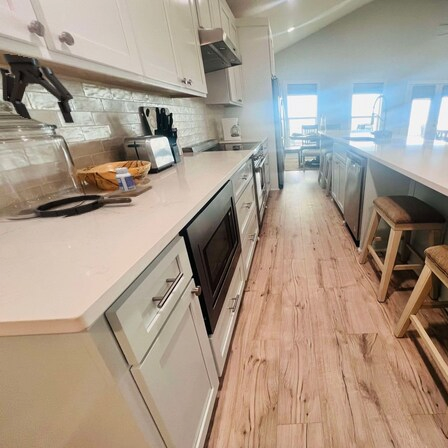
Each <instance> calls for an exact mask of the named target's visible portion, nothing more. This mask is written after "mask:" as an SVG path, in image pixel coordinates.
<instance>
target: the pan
mask: <svg viewBox="0 0 448 448" xmlns="http://www.w3.org/2000/svg"><path fill="white" fill-rule="evenodd" d="M86 201H92V202H88V203H85V204H81V205H78V206H77V205H76V206H73V207H67V208H61V209H56V210H55V209H54V210H53V209H52V208H56V207H60V206H63V205H64V206H65V205H68V204H73V203H78V202H86ZM132 201H133V200H132V197H114V198H105V197H104V195H101V194H82V195H76V196H69V197H64V198H61V199H55V200H52V201H48V202H45V203H42V204H40V205H37V206H36V207H35V208H34V209H33V212H34V214H35V216H36V217H39V218H58V217H61V218H62V219H64V218H70V217H74V216H75V217H76V216H79V215H80V216H81V215H83V214H86V213H89V212H93V211H96V210H98V209H100V208H102V207H104V206H105V205H116V204H131V203H132ZM50 209H52V210H50Z"/></svg>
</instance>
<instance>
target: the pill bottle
mask: <svg viewBox="0 0 448 448" xmlns="http://www.w3.org/2000/svg"><path fill="white" fill-rule="evenodd" d="M114 171H115V173H116V175H115V179H116V182H117V184H118V187H119V189H120V190H121V192H129V191H133V190H135V189H136V187H137V186H136V183H135V181H134V178H133V175H132V173H130V172H129V170H128V167H126V166H125V167H116V168H114Z"/></svg>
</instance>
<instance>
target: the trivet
mask: <svg viewBox="0 0 448 448" xmlns="http://www.w3.org/2000/svg"><path fill="white" fill-rule="evenodd" d="M135 187H136V189H135V190H133V191H129V192H121V190H120V188H118V189H116V190H114V191H111V192H109V193H106V194H104V195H103V197H104V198H105V197H106V199H112V198H132V197H137V196H139V195H141V194H143V193H145V192H147V191H149V190H151V189H152V188H153V187H152V185H145V186H144V185H143V186H141V185H140V186H135Z"/></svg>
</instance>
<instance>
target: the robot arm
mask: <svg viewBox="0 0 448 448" xmlns="http://www.w3.org/2000/svg"><path fill="white" fill-rule="evenodd" d="M2 57H3V59H4V61H5V62H6V63H7V64H8V65H9V68H10V69H9V68H4V67H0V74H1V81H2V84H1V87H2V88H1V89H2V90H1V91H2V100H3V102H7V103H10V104H12V106H13V109H14V110H15V112H16V114H17V115H19V117H20V116H22V117H24V118H28V119H32V117H31V115H30V112H29V110H28V108H27V106H26V104H25V103H24V102H22V101H23V98H24V95H25V93H26V89H27V87H28V86H29V85H31V86H32V85H40V86H41V87H42V88H43V89H45V91H47V92H48V93H50V94H51V95H52V96H53V97H55V98H56V99H57V101H56V103H57V107H58V108H59V110H60V113H61V115H62V118H63V121H64V123H65V124H74V123H75V121H74V119H73V116H72V108H71V106H70V103H69V101H71V100H73V99H74V97H73V95H72V94H71V93H70V91H69V90H68V89H67V88H66V87H65V86H64V84H63V83H62V82H61V81H60V80H59V79H58V78H57V76H56V75H55V73H54V71H53V69H52V68H51V67H48V66H44V65H42V66H40V65H41V64H40V61H39V59H38V60H37V59H32V58H28V57H23V56H18V55H10V54H2ZM44 76H45V77H44Z"/></svg>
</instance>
